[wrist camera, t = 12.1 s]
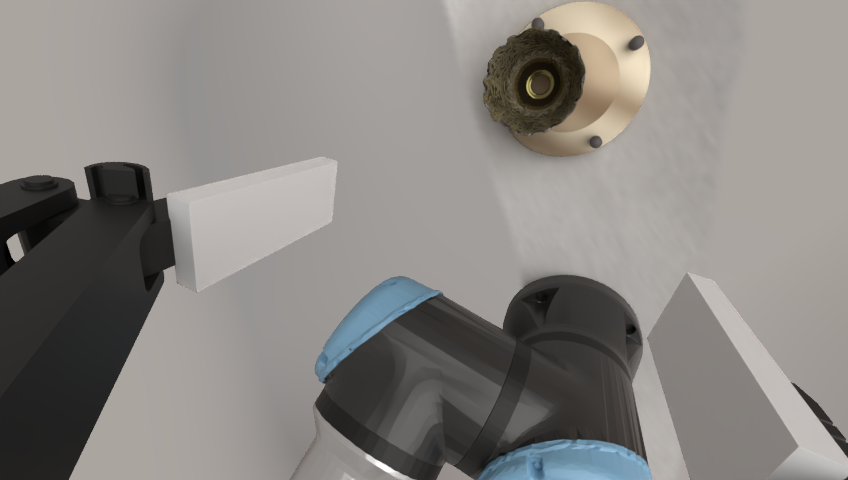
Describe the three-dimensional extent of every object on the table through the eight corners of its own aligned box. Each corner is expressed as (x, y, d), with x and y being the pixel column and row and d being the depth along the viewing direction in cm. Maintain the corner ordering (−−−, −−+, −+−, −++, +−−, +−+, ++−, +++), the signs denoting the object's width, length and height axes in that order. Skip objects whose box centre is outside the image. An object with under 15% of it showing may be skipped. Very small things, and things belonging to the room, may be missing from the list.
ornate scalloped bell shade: (485, 93, 36) (463, 95, 29) (537, 21, 32) (526, 4, 25) (542, 141, 36) (534, 154, 29) (602, 74, 32) (609, 71, 25)
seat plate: (610, 169, 36) (612, 175, 34) (485, 135, 39) (479, 138, 37) (676, 19, 30) (685, 13, 28) (523, -7, 33) (518, -14, 31)
